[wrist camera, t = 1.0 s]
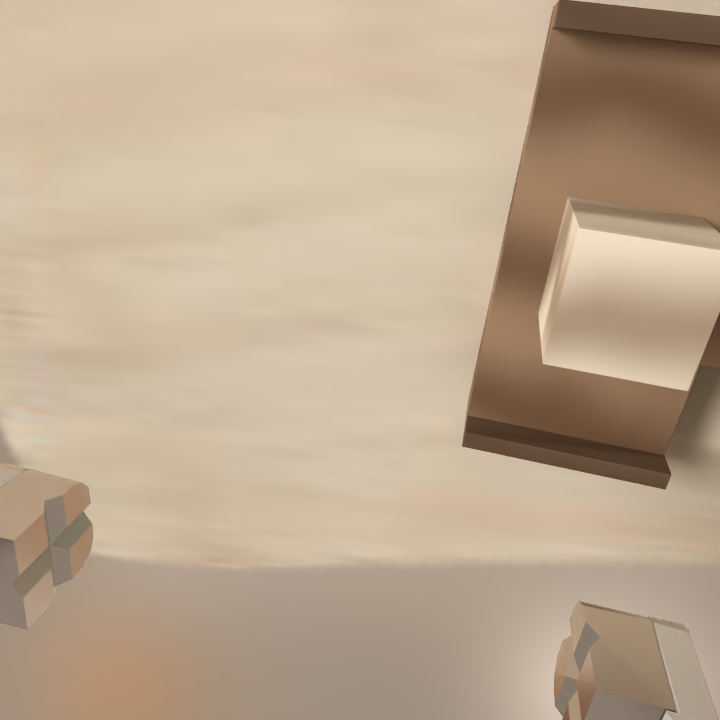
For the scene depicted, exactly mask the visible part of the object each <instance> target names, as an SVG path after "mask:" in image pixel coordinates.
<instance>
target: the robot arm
mask: <svg viewBox="0 0 720 720" xmlns="http://www.w3.org/2000/svg"><path fill="white" fill-rule="evenodd" d="M89 504H90V495H89V488H88V487H87V486H86V485H84V484H83V483H81V482H77V481H73V480H70V479H66V478H62V477H58V476H55V475H51V474H47V473H43V472H40V471H36V470H32V469H30V470H29V469H26V468H22V467H18V466H15V465H11V464H7V463H3V464H0V623H2V624H7V625H11V626H15V627H19V628H23V629H27V630H28V629H29V628H30V627H31V625H32V624H33V623H34V622H35V621H36V620H37V619H38V617H39V616H40V615H41V614H42V613H43V612H44V610H46V608H47V607H48V606H49V605H50V604H51V603H52V602H53V600H54V599H55V586H57V585H59V584H62V583H64V582H66V581H68V580H71V579H73V577H74V576H75V575H76V574H77V573H78V571H79V570H80V569H81V568H82V567H83V565H84V563H85V561H86V559H87V557H88V554H89V552H90V550H91V546H92V540H93V525H92V523H91V521H90V520H89V519H88V517H87V516H86V515H85V513H84V512H83V511H84V510H85V509H86V508H87V507H88V505H89ZM570 625H571V636H570V637H568V638H567V639H565V640H563V641H562V644H561V647H560V650H559V653H558V657H557V663H556V669H555V675H554V695H555V706H556V708H557V709H558V711H559V712H560V713H561V715H562V716H563V719H562V720H719V719H718V716H717V713H716V710H715V707H714V704H713V701H712V698H711V696H710V692H709V689H708V687H707V683H706V681H705V678H704V675H703V672H702V669H701V666H700V663H699V660H698V657H697V654H696V651H695V648H694V645H693V642H692V639H691V636H690V633H689V630H687V628H686V627H685V626H684V625H683V624H679V623H674V622H670V621H666V620H661V619H657V618H652V617H645V616H640V615H637V614H632V613H628V612H624V611H619V610H615V609H611V608H606V607H602V606H598V605H593V604H589V603H584V602H580V601H579V602H578V603H577V605H576V606H575V607H574V610H573V612H572V615H571V618H570Z"/></svg>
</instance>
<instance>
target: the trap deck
mask: <svg viewBox="0 0 720 720" xmlns="http://www.w3.org/2000/svg"><path fill="white" fill-rule="evenodd" d="M568 197H574V198H580V199H587V200H593V201H600V202H607V203H613V204H620V205H627V206H633V207H640V208H647V209H653V210H660V211H666V212H673V213H680V214H686V215H693V216H700V217H702V218H703V219H704V220H705V221H707V222H708V223H709V224H710V225H711V226H712V227H713V228H714V229H716V230H717V231H718V232H719V233H720V16H711V15H702V14H692V13H683V12H674V11H664V10H655V9H646V8H636V7H627V6H618V5H608V4H599V3H590V2H580V1H571V0H559V1H558V2H557V3H556V5H555V6H554V7H553V12H552V16H551V21H550V26H549V30H548V35H547V40H546V44H545V49H544V53H543V58H542V63H541V67H540V72H539V76H538V81H537V86H536V90H535V95H534V100H533V104H532V109H531V113H530V118H529V123H528V127H527V132H526V137H525V141H524V146H523V150H522V155H521V160H520V164H519V169H518V174H517V178H516V183H515V187H514V192H513V197H512V201H511V206H510V211H509V215H508V220H507V224H506V229H505V234H504V238H503V243H502V248H501V252H500V257H499V261H498V266H497V271H496V275H495V280H494V285H493V289H492V294H491V298H490V303H489V308H488V312H487V317H486V322H485V326H484V331H483V335H482V340H481V345H480V349H479V354H478V359H477V363H476V368H475V372H474V377H473V382H472V386H471V391H470V396H469V400H468V406H467V413H466V421H465V429H464V436H463V444H462V446H463V447H467V448H472V449H477V450H482V451H486V452H491V453H496V454H501V455H505V456H510V457H515V458H519V459H524V460H529V461H534V462H538V463H543V464H548V465H553V466H557V467H562V468H567V469H572V470H576V471H581V472H586V473H590V474H595V475H600V476H605V477H609V478H614V479H619V480H624V481H628V482H633V483H638V484H642V485H647V486H652V487H657V488H661V489H666V487H667V484H668V482H669V479H670V477H671V472H670V470H669V467H668V464H667V462H666V459H665V456H664V455H665V452H666V450H667V447H668V445H669V442H670V440H671V437H672V435H673V432H674V430H675V427H676V425H677V422H678V420H679V417H680V415H681V412H682V410H683V407H684V405H685V402H686V400H687V397H688V395H689V392H690V390H691V388H692V385H693V383H694V380H695V378H696V375H697V373H698V370H699V368H700V365H705V366H710V367H716V368H720V312H719V315H718V317H717V320H716V322H715V325H714V327H713V330H712V332H711V335H710V337H709V340H708V342H707V345H706V347H705V350H704V352H703V355H702V357H701V360H700V362H699V365H698V367H697V370H696V372H695V375H694V377H693V380H692V382H691V385H690V387H689V390H688V391H684V390H678V389H673V388H668V387H663V386H657V385H652V384H647V383H641V382H636V381H631V380H625V379H620V378H615V377H610V376H604V375H599V374H594V373H588V372H583V371H578V370H573V369H567V368H562V367H557V366H551V365H546V364H543V361H542V350H541V339H540V328H539V317H538V312H539V308H540V304H541V300H542V296H543V292H544V288H545V284H546V280H547V277H548V273H549V269H550V265H551V261H552V257H553V253H554V249H555V245H556V242H557V238H558V234H559V230H560V226H561V222H562V218H563V214H564V210H565V206H566V203H567V199H568Z"/></svg>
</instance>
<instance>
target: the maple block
mask: <svg viewBox="0 0 720 720" xmlns="http://www.w3.org/2000/svg"><path fill="white" fill-rule="evenodd" d="M719 312H720V233H719V232H718V231H717V230H716V229H714V228H713V227H712V226H711V225H710V224H709V223H708V222H707V221H705V220H704V219H703V218H702V217H700V216H693V215H686V214H680V213H673V212H666V211H660V210H653V209H647V208H640V207H633V206H627V205H620V204H613V203H607V202H600V201H593V200H587V199H580V198H574V197H568V199H567V203H566V206H565V210H564V214H563V218H562V222H561V226H560V230H559V234H558V238H557V242H556V245H555V249H554V253H553V257H552V261H551V265H550V269H549V273H548V277H547V280H546V284H545V288H544V292H543V296H542V300H541V304H540V308H539V312H538V317H539V328H540V339H541V350H542V361H543V364H546V365H551V366H557V367H562V368H567V369H573V370H578V371H583V372H588V373H594V374H599V375H604V376H610V377H615V378H620V379H625V380H631V381H636V382H641V383H647V384H652V385H657V386H663V387H668V388H673V389H678V390H684V391H688V390H689V387H690V385H691V382H692V380H693V377H694V375H695V372H696V370H697V367H698V365H699V362H700V360H701V357H702V355H703V352H704V350H705V347H706V345H707V342H708V340H709V337H710V335H711V332H712V330H713V327H714V325H715V322H716V320H717V317H718V315H719Z"/></svg>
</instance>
